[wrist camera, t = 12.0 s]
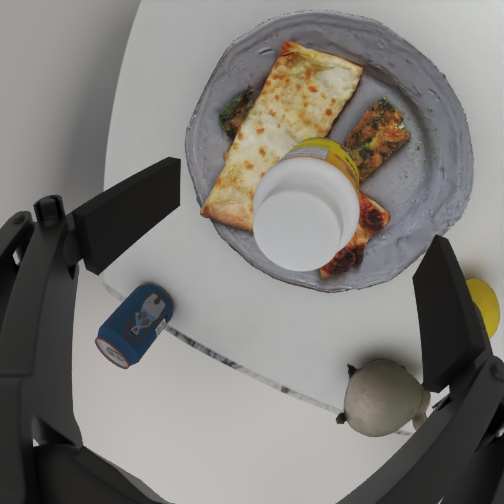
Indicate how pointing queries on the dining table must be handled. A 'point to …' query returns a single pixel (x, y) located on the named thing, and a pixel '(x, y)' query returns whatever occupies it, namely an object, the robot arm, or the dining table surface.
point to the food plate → (336, 128)
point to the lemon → (485, 303)
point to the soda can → (134, 325)
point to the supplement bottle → (307, 205)
